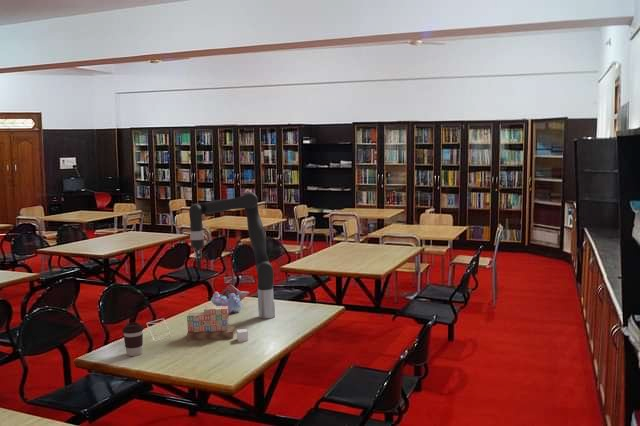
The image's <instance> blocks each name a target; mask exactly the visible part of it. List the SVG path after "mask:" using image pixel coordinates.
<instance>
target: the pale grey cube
mask: <svg viewBox="0 0 640 426" xmlns="http://www.w3.org/2000/svg"><path fill="white" fill-rule="evenodd" d="M236 338H237V339H236V340H237V341H238V343H240V342H248V341H249V332H248V329H247V328H242V329H241V328H240V329H237V330H236Z"/></svg>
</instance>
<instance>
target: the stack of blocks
mask: <svg viewBox="0 0 640 426" xmlns="http://www.w3.org/2000/svg"><path fill="white" fill-rule="evenodd" d="M229 315H230V314H229V312H228V306H216V305H214V306H213V305H212V306H210V305H209V306H205V307H204V308H203V312H202V311H201V312H199V311H198V312H196V311H195V312H188V313H187V315H186V320H187V323H186V324H187V333H188V332H212V331H228V329H229V327H230V321H229V320H230V318H229V317H230V316H229Z"/></svg>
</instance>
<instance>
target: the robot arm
mask: <svg viewBox="0 0 640 426" xmlns="http://www.w3.org/2000/svg"><path fill="white" fill-rule="evenodd" d="M258 202H259V198H258V197H257V195H256V194H255V193H254V192H251V191H248V192H245V193H244V194H243V195H241V196H237V197H234V198H228V199H227V198H226V199H216V200H211V201H208V202H207V201H206V202H199V203H193V204H191V206H190V207H189V210H188V213H189V221H190V222H189V223H190V224H189V227H190V229H189V230H190V233H189V234H190V235H189V236H190V238H189V239H190V247H191V248H194V250H193V252H194V259H195V265H196V267H197V268H202V249H201V248H203V247H204V246H205V239H204V238H205V236H204V229H203V228H204V227H203V226H204V225H203V215H206V214H209V215H211V214H217V213H221V212H226V211H230V210H237V209H239V210H240V209H244V211H245V214H246V220H247V221H246V222H247V231H248V236H249V240H250V245H251V248H252V251H253V254H254V259H255V270H256V273H257V306H258V318H260V319H265V320H266V319H271V318H275V317H276V313H275V312H276V310H275V309H276V308H275V299H274V280H275V279H274V268H273V266H272V264H271V263H270V259H269V256H268V253H267V237H266V233H265V229H264V224H263V222H262V220H261V219H262V218H261V216H260V212H259V206H258V204H259V203H258Z"/></svg>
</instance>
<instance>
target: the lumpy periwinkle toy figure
mask: <svg viewBox="0 0 640 426" xmlns="http://www.w3.org/2000/svg"><path fill="white" fill-rule="evenodd" d="M249 294H251V292H249V291H243V290H242V291H240V290H239V289H238V288H236V287H235V286H234V285H232V284H231V283H229V284H228V285H227V286H225V287H224V288H223V290H221V291H220V292H218V291H214V294H212V297H211V298H210V301H211V302H212V304H213V305H214V306H228V312H229V315H231V313H232V312H233V313H238V312H240V311H241V310H242V307H243V304H242V302H241V301H242V300H244V299H245V298H246V297H248V295H249Z"/></svg>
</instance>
